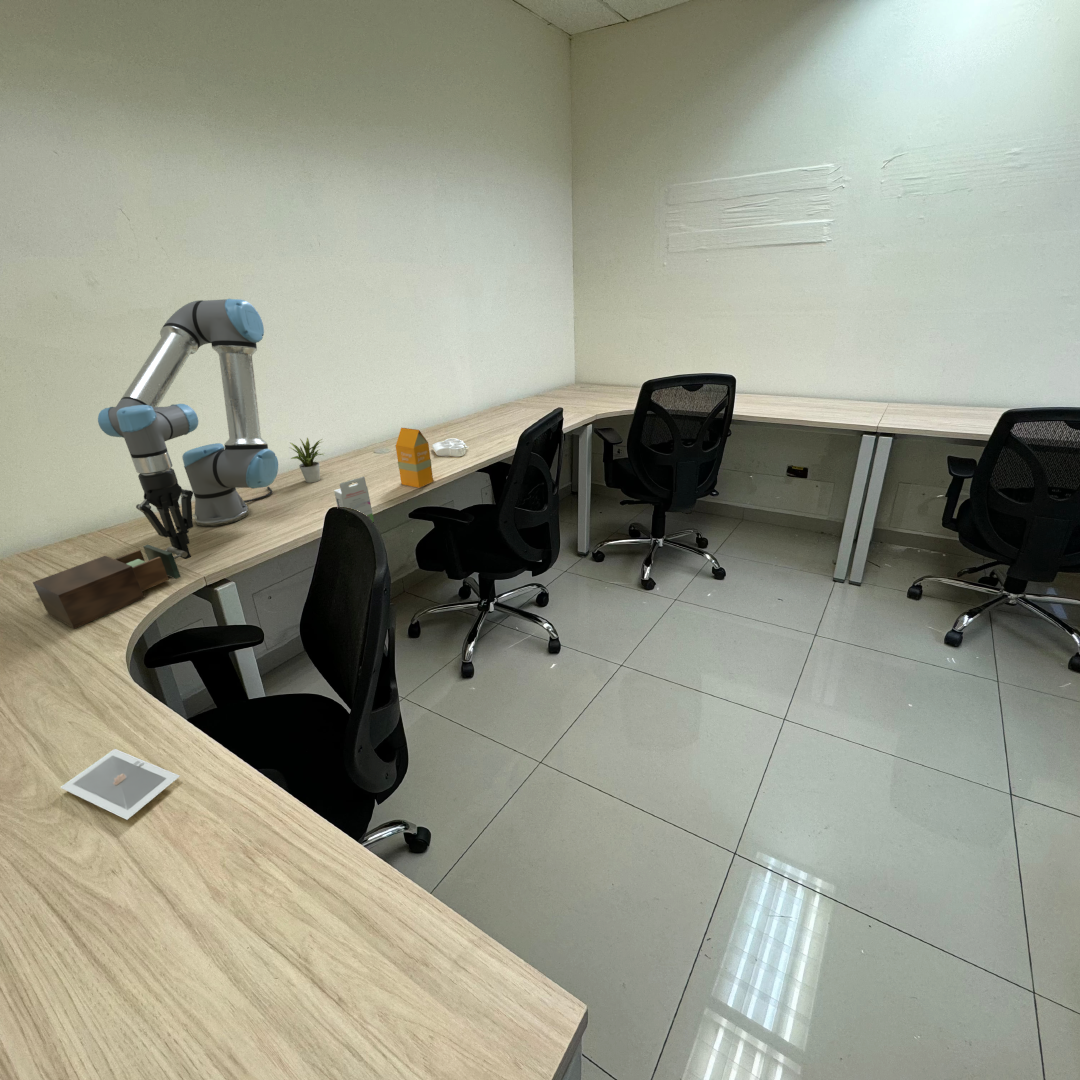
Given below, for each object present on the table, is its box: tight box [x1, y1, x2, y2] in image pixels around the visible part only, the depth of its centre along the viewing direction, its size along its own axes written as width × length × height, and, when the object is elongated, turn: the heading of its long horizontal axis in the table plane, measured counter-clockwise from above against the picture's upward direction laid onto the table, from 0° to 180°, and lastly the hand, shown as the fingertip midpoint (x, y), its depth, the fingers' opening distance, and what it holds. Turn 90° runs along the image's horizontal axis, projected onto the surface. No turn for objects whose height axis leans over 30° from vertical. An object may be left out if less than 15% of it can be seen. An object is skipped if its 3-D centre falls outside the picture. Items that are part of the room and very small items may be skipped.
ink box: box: [333, 476, 375, 523], centre depth 165 cm, size 9×5×15 cm, turn 134°
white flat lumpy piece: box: [431, 437, 470, 458], centre depth 236 cm, size 3×18×15 cm
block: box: [126, 559, 146, 567], centre depth 135 cm, size 4×4×4 cm
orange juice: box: [395, 427, 434, 489], centre depth 197 cm, size 8×9×20 cm
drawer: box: [114, 544, 188, 592], centre depth 137 cm, size 18×11×7 cm, turn 150°
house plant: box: [288, 437, 326, 484], centre depth 204 cm, size 14×14×16 cm
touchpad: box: [59, 748, 181, 821], centre depth 81 cm, size 8×15×2 cm, turn 67°
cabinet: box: [32, 555, 145, 630], centre depth 127 cm, size 15×13×9 cm
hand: (185, 556), depth 145 cm, fingers closed
